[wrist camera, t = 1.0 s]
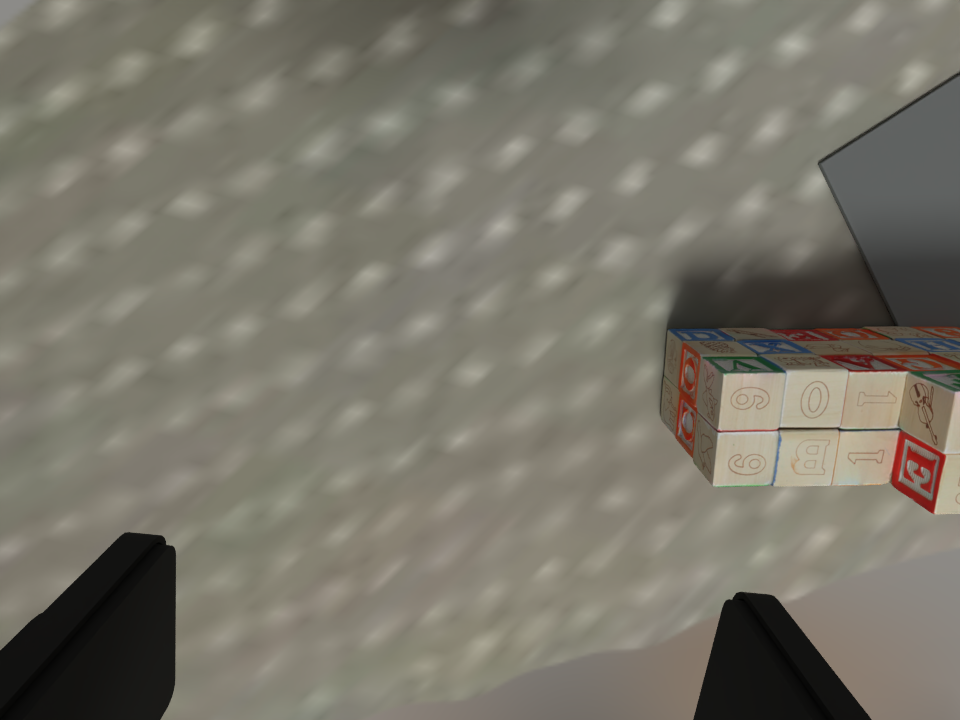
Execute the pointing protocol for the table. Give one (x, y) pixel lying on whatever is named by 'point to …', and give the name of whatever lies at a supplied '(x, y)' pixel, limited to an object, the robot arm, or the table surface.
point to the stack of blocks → (820, 407)
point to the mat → (907, 207)
